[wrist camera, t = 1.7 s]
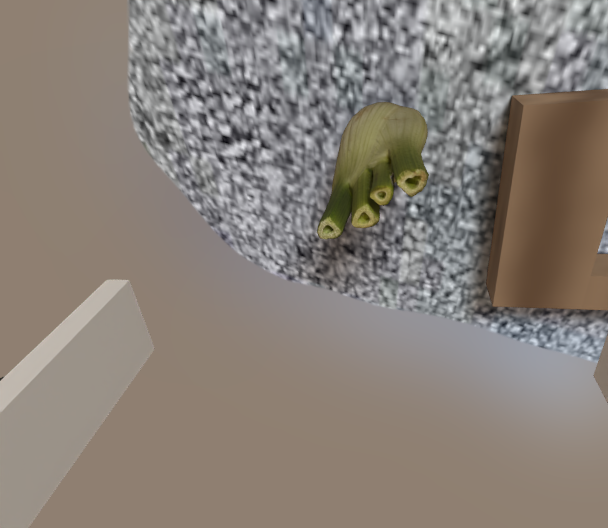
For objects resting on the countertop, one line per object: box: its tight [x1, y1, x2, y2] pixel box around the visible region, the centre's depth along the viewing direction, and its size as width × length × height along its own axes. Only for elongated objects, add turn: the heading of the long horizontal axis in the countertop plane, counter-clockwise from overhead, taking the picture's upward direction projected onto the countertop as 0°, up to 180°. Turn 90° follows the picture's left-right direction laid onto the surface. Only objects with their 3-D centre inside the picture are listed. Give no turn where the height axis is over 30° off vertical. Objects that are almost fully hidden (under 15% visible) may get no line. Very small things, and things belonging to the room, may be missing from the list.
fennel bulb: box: [317, 102, 429, 239], centre depth 24 cm, size 6×5×12 cm
